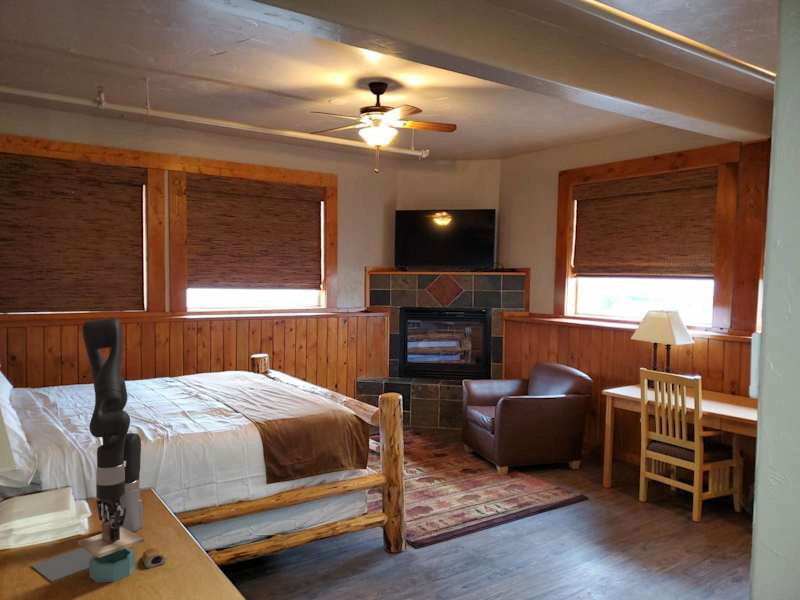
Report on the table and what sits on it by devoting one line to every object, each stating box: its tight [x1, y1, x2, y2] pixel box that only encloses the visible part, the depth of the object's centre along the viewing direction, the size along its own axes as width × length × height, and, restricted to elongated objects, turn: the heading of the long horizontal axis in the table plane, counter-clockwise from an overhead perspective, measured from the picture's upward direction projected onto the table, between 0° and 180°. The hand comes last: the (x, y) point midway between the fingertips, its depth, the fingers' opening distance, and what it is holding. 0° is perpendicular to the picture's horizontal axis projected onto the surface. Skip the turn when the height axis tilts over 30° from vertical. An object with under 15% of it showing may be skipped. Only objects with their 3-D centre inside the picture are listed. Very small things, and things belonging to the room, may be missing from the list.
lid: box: [77, 520, 145, 558], centre depth 172 cm, size 13×13×6 cm
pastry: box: [141, 547, 168, 569], centre depth 180 cm, size 9×7×4 cm
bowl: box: [89, 547, 136, 583], centre depth 173 cm, size 11×11×5 cm
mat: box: [30, 547, 94, 584], centre depth 177 cm, size 15×15×1 cm
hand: (111, 537), depth 172 cm, fingers closed on lid, 3 cm apart
